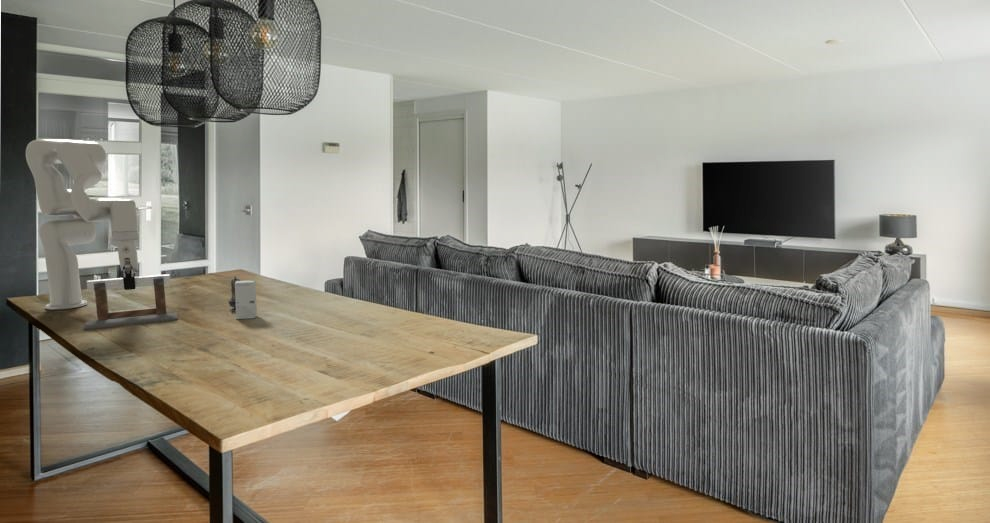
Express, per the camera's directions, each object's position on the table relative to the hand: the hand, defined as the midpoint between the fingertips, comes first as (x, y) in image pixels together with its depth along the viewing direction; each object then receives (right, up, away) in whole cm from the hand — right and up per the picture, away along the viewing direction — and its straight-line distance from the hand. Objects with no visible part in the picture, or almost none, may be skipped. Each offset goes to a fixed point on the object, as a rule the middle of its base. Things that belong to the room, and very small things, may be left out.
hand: (130, 287), depth 210 cm
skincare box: (+41, -10, -3) cm, 42 cm away
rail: (0, 0, 0) cm, 0 cm away
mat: (+5, -11, -7) cm, 14 cm away
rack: (0, -10, +1) cm, 10 cm away
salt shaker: (+33, -9, +8) cm, 35 cm away
